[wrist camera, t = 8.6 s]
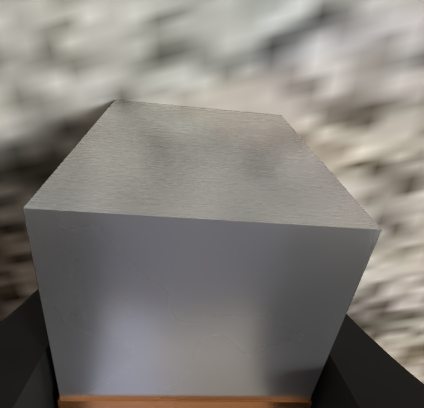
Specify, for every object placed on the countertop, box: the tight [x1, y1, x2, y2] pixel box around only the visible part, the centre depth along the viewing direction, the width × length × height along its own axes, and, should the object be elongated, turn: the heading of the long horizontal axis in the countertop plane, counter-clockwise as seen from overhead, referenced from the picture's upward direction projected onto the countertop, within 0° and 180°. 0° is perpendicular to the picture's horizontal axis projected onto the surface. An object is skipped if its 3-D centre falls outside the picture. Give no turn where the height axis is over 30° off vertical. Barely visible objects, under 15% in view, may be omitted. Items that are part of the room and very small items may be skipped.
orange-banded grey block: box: [23, 100, 382, 408], centre depth 8 cm, size 8×4×5 cm, turn 174°
